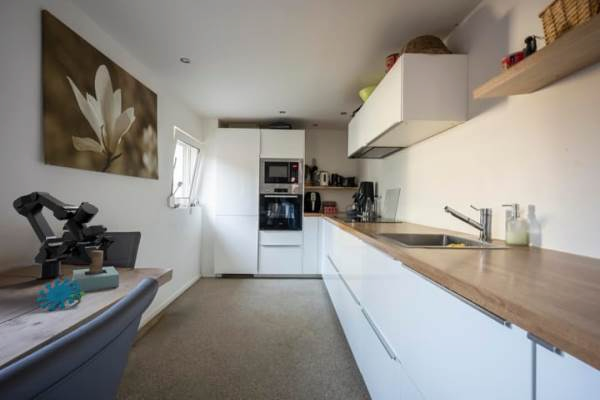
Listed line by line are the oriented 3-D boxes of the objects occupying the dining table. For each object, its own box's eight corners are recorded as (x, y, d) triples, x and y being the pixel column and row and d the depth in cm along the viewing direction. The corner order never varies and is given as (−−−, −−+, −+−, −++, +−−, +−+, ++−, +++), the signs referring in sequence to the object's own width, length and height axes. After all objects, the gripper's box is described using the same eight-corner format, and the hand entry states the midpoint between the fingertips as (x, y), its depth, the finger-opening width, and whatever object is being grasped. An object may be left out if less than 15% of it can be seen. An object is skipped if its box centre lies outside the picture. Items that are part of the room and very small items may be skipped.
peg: (87, 283, 104) (88, 251, 104) (99, 281, 107) (101, 250, 107) (90, 286, 101) (92, 252, 101) (102, 284, 104) (104, 251, 105)
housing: (72, 281, 106) (72, 270, 106) (112, 277, 114) (113, 266, 114) (73, 292, 94) (74, 279, 94) (118, 286, 102) (119, 274, 102)
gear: (27, 307, 76) (48, 275, 83) (33, 316, 80) (52, 285, 87) (74, 309, 79) (90, 278, 87) (78, 318, 83) (92, 288, 90)
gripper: (64, 218, 97) (85, 251, 93) (113, 216, 115) (132, 245, 111) (47, 238, 99) (67, 272, 95) (98, 234, 117) (117, 262, 113)
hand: (98, 262), depth 104 cm, fingers open, 6 cm apart
